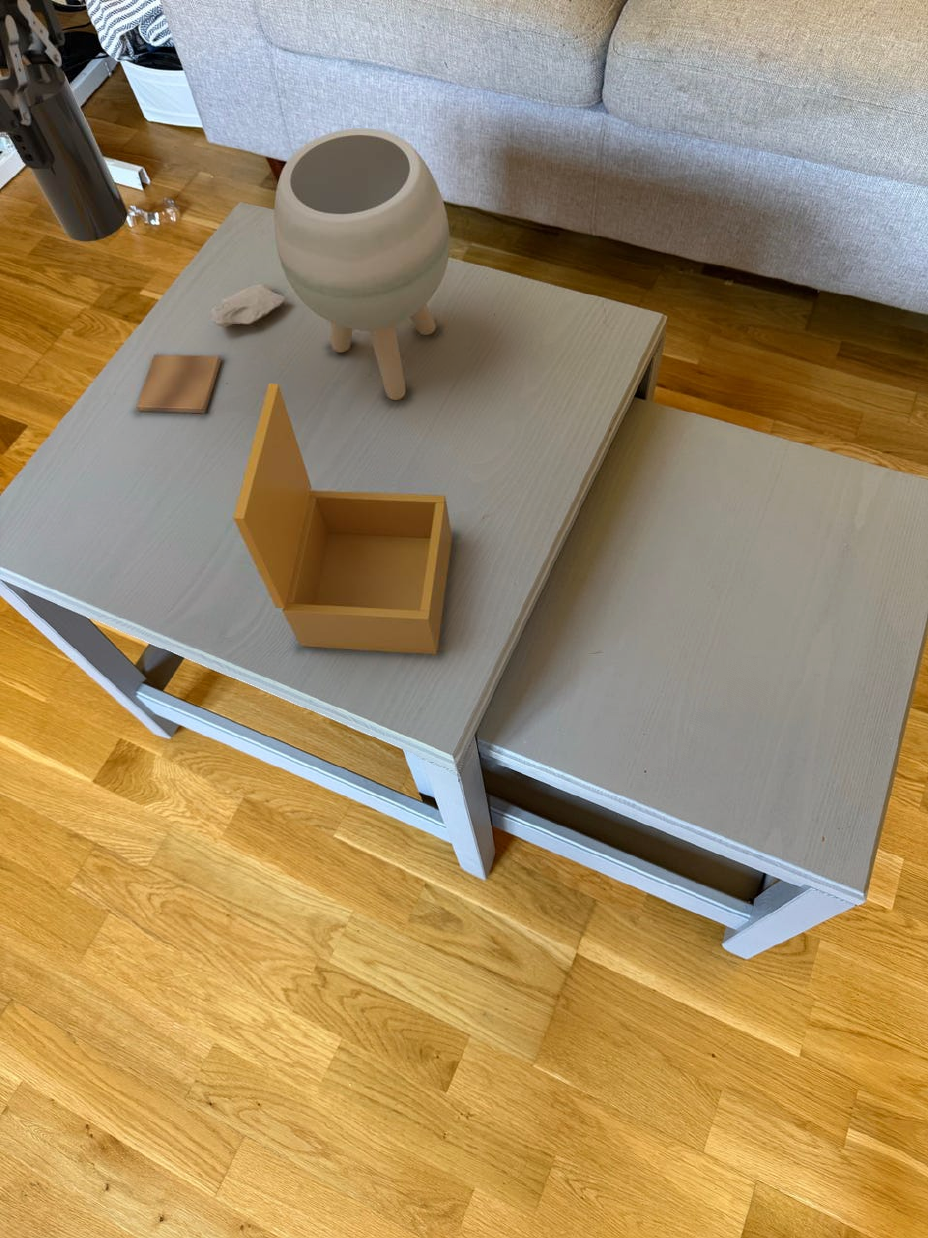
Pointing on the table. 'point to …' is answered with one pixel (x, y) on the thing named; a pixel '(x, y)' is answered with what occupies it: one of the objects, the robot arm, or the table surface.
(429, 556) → the chest
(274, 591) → the lid
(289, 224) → the planter
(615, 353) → the table surface
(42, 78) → the dark grey cylinder
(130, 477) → the table surface
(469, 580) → the table surface
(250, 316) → the decorative stone
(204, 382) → the pad
